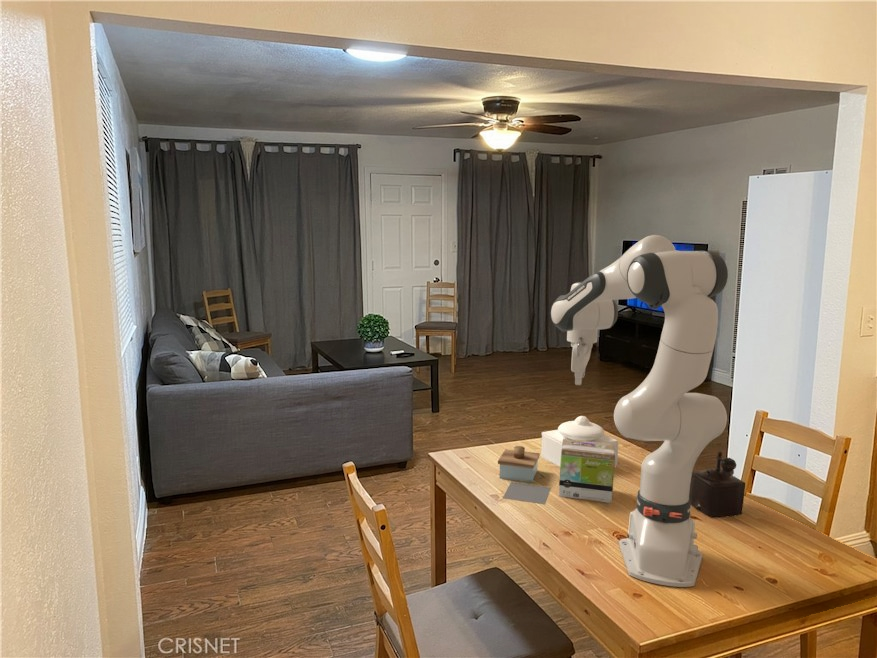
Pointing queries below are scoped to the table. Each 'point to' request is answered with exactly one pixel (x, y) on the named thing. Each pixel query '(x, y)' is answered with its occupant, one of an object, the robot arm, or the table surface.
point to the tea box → (587, 470)
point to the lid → (519, 458)
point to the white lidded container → (573, 438)
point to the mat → (527, 493)
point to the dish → (518, 473)
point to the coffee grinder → (717, 490)
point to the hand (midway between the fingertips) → (579, 380)
